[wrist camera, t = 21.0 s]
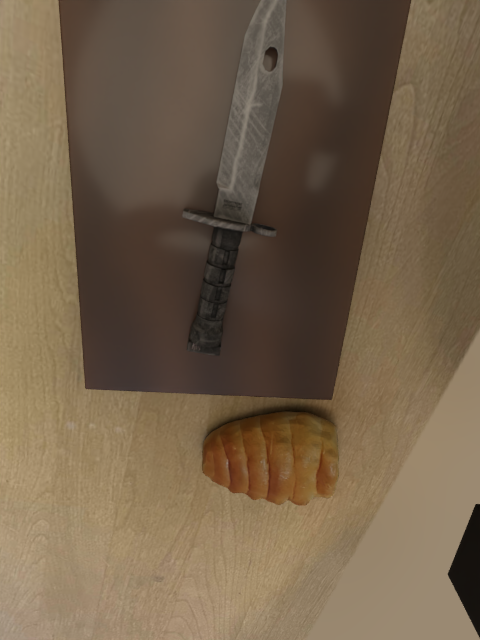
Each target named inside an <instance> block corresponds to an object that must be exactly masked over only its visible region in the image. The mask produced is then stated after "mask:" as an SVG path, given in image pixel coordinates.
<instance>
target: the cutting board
mask: <svg viewBox="0 0 480 640" xmlns="http://www.w3.org/2000/svg"><path fill="white" fill-rule="evenodd" d="M260 1H261V0H59V12H60V26H61V41H62V55H63V70H64V84H65V99H66V113H67V128H68V143H69V157H70V172H71V186H72V201H73V215H74V230H75V244H76V259H77V273H78V288H79V302H80V317H81V331H82V346H83V360H84V375H85V388H86V389H97V390H119V391H142V392H165V393H187V394H210V395H233V396H256V397H278V398H301V399H324V400H332V396H333V391H334V386H335V381H336V376H337V371H338V366H339V361H340V356H341V351H342V346H343V341H344V336H345V331H346V325H347V320H348V315H349V310H350V305H351V300H352V295H353V290H354V285H355V280H356V275H357V270H358V265H359V260H360V255H361V250H362V245H363V240H364V235H365V230H366V225H367V220H368V215H369V210H370V205H371V200H372V195H373V190H374V184H375V179H376V174H377V169H378V164H379V159H380V154H381V149H382V144H383V139H384V134H385V129H386V124H387V119H388V114H389V109H390V104H391V99H392V94H393V89H394V84H395V79H396V74H397V69H398V64H399V59H400V54H401V49H402V44H403V38H404V33H405V28H406V23H407V18H408V13H409V8H410V3H411V0H286V18H285V36H284V54H283V86H282V90H281V95H280V99H279V103H278V108H277V112H276V117H275V121H274V125H273V130H272V134H271V138H270V143H269V147H268V151H267V156H266V160H265V164H264V168H263V173H262V177H261V181H260V187H259V192H258V197H257V200H256V205H255V209H254V213H253V218H252V222H251V223H252V224H254V223H255V224H263V225H267V226H270V227H273V228H275V229H277V233H276V236H275V237H269V236H263V235H259V234H256V233H254V232H252V231H243V233H242V237H241V242H240V245H239V246H238V249H239V250H238V254H237V259H236V263H235V264H234V266H235V271H234V275H233V280H232V282H231V288H230V292H229V296H228V299H227V304H226V309H225V313H224V315H223V322H222V327H223V334H222V338H221V351H220V355H219V356H213V355H208V354H202V353H196V352H190V351H187V343H188V337H189V334H190V331H191V326H192V323H193V322H194V320H195V319H196V315H197V312H198V304H199V299H200V295H201V288H202V283H203V279H204V278H205V277H204V272H205V267H206V262H207V260H208V259H209V258H208V255H209V250H210V245H211V243H212V234H213V229H214V226H211V225H207V224H204V223H200V222H197V221H193V220H190V219H186V218H183V217H182V215H183V210H184V209H191V210H198V211H205V212H212V213H214V210H215V205H216V200H217V195H218V190H219V188H218V186H217V183H216V182H217V177H218V172H219V167H220V161H221V156H222V151H223V146H224V141H225V136H226V130H227V125H228V120H229V115H230V110H231V104H232V99H233V94H234V89H235V84H236V78H237V73H238V68H239V63H240V58H241V52H242V47H243V42H244V37H245V34H246V31H247V29H248V27H249V24H250V22H251V20H252V17H253V15H254V13H255V11H256V9H257V7H258V5H259V3H260ZM277 57H278V55H277V52H276V50H275V49H274V48H269V49H268V50H267V51H265V55H264V60H263V66H264V68H265V70H266V71H268V72H271V71H273V70H274V68H275V65H276V61H277Z"/></svg>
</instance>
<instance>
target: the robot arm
mask: <svg viewBox="0 0 480 640" xmlns="http://www.w3.org/2000/svg"><path fill="white" fill-rule="evenodd" d="M448 576H449V578H450V580H451V582H452V583H453V585H454V588H455V590H456V592H457V593H458V596H459V597H460V600H461V602H462V604H463V606H464V608H465V610H466V612H467V614H468V616H469V618H470V619H471V622H472V623H473V625H474V627H475V629H476V631H477V633H478V635H479V637H480V504H476V505H475V507H474V510H473V512H472V515H471V517H470V520H469V523H468V525H467V527H466V530H465V532H464V535H463V537H462V540H461V542H460V545H459V548H458V550H457V553H456V555H455V557H454V560H453V563H452V565H451V568H450V570H449V572H448Z"/></svg>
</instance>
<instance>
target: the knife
mask: <svg viewBox="0 0 480 640" xmlns="http://www.w3.org/2000/svg"><path fill="white" fill-rule="evenodd" d="M285 18H286V0H261V1H260V3H259V5H258V7H257V9H256V11H255V13H254V15H253V17H252V20H251V22H250V24H249V27H248V29H247V31H246V34H245V37H244V42H243V47H242V52H241V58H240V63H239V68H238V73H237V78H236V84H235V89H234V94H233V99H232V104H231V110H230V115H229V120H228V125H227V130H226V136H225V141H224V146H223V151H222V156H221V161H220V167H219V172H218V177H217V182H216V183H217V186H218V188H219V190H218V195H217V200H216V205H215V210H214V213H212V212H205V211H198V210H191V209H184V210H183V215H182V217H183V218H186V219H190V220H193V221H197V222H200V223H204V224H207V225H211V226H214V229H213V234H212V243H211V245H210V250H209V255H208V258H209V259H208V260H207V262H206V267H205V272H204V277H205V278H204V279H203V283H202V288H201V295H200V299H199V304H198V312H197V315H196V319H195V320H194V322H193V323H192V326H191V331H190V334H189V337H188V343H187V351H190V352H196V353H202V354H208V355H213V356H219V355H220V351H221V338H222V334H223V327H222V322H223V315H224V313H225V309H226V304H227V299H228V296H229V292H230V288H231V282H232V280H233V275H234V271H235V266H234V264H235V263H236V259H237V254H238V250H239V249H238V246H239V245H240V242H241V237H242V233H243V231H252V232H254V233H256V234H259V235H263V236H269V237H275V236H276V233H277V229H275V228H273V227H270V226H267V225H263V224H255V223H254V224H252V223H251V222H252V218H253V213H254V209H255V205H256V200H257V197H258V192H259V187H260V181H261V177H262V173H263V168H264V164H265V160H266V156H267V151H268V147H269V143H270V138H271V134H272V130H273V125H274V121H275V117H276V112H277V108H278V103H279V99H280V95H281V90H282V86H283V54H284V36H285ZM269 48H274V49H275V50H276V52H277V55H278V57H277V61H276V65H275V68H274V70H273V71H271V72H268V71H266V70H265V68H264V66H263V60H264V55H265V51H267V50H268V49H269Z"/></svg>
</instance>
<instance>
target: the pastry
mask: <svg viewBox="0 0 480 640" xmlns="http://www.w3.org/2000/svg"><path fill="white" fill-rule="evenodd" d="M202 455H203V462H202V471H203V473H204V474H205V475H206V476H208V477H209V478H210V479H211V480H212V481H213V482H216V483H217V484H219V485H222V486H224V487H226V488H228V489H229V490H230V491H231V492H232V493H245V494H246V495H248V496H249V497H250V498H251V499H253V500H257V499H262V498H263V499H266V500H267V501H269V502H273V503H275V504H277V505H281V504H283V503H284V502H285V501H286V500H290V501H291V502H292V503H294V504H296V505H307V504H308V503H309V501H310V500H311V499H312V498H314V497H324V498H330V497H331V496H333V494H334V491H335V489H336V485H337V481H338V477H339V469H338V461H339V455H338V438H337V429H336V426H335V425H334V424H333V423H331V422H329V421H327V420H325V419H323V418H320V417H317V416H315V415H313V414H310V413H307V412H290V411H284V412H278V413H271V414H266V415H257V416H255V417H251V418H248V417H247V418H246V419H241V420H236V421H233V422H231V423H227V424H225V425H223V426H222V427H220V428H218V429H216V430H214V431H212V432H211V433H210V434H209V435H208V436H207V438H206V439H205V441H204V443H203V450H202Z"/></svg>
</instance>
